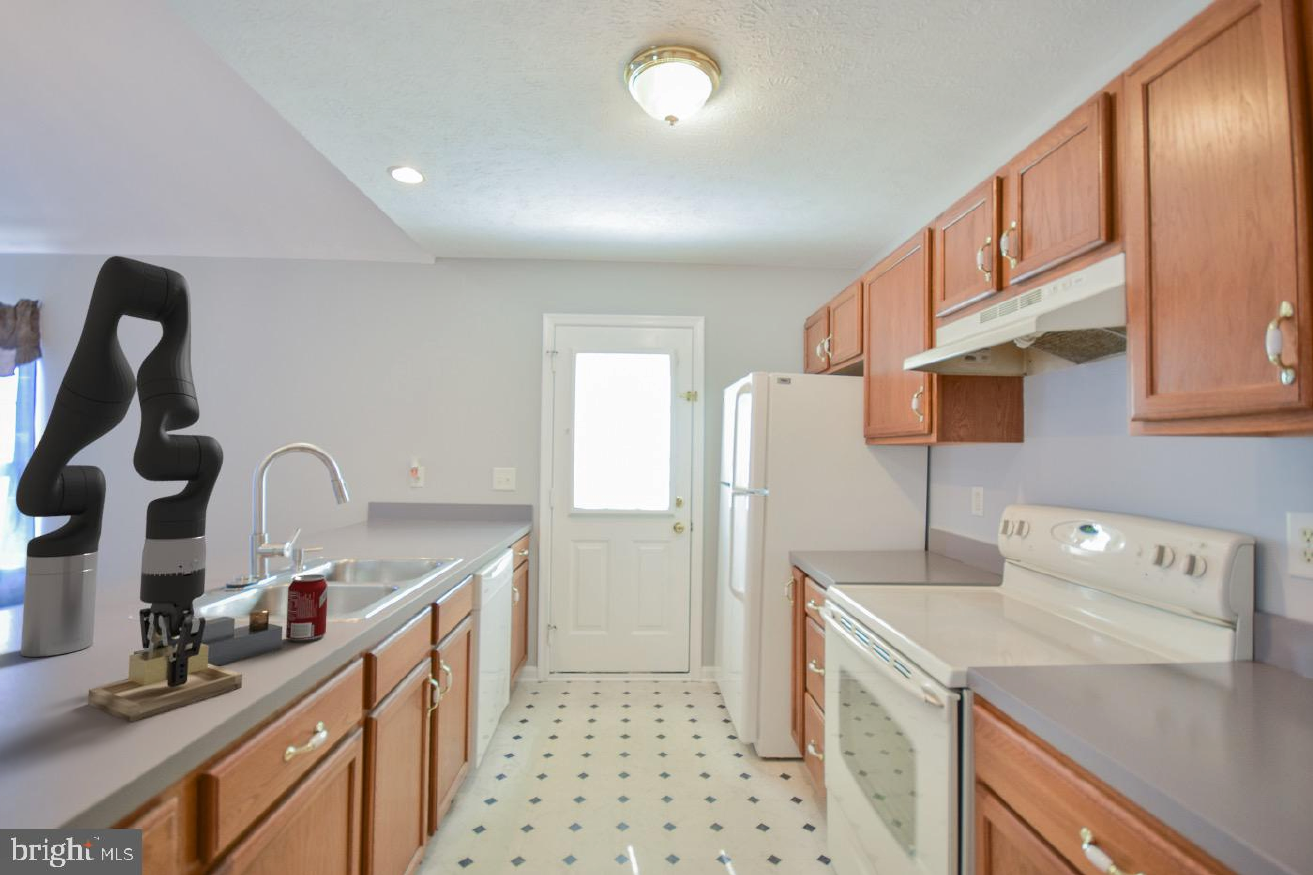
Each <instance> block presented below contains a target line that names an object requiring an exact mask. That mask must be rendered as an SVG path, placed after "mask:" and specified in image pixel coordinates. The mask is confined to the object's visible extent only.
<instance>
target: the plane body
mask: <svg viewBox="0 0 1313 875" xmlns="http://www.w3.org/2000/svg"><path fill="white" fill-rule="evenodd" d="M235 619H236V618H233V617H229V616H222V617H217V618H212V619H208V620H207V619H206V623H205V627H204V632H203V636H202V641H201V643H202V644H205V645H209V649H208V664H211V665H214V666H218V667H220V666H222V665H227V664H230V663H234V662H236V661H240V660H244V658H245V659H248V658H252V657H255V655H256V656H259V655H262V653H263V654H266V652H267V653H270V652H273V651H272V650H274V651H277V650H281V649H282V644H283V642H282V640H283V626H281V625H277V624H273V623H269V622H270V609H266V608H265V609H262V608H261V609H254V610H251V611H249V621H248V622H249V623H248V625H245V626H240V627H236V628H235ZM176 645H177V644H176ZM276 649H277V650H276ZM147 651H148V648H146V649H144V648H143V649H141V650H137V651H134V652H133V655H134V654H138V653H143V652H147ZM269 651H270V652H269ZM258 654H259V655H258ZM251 656H252V657H251ZM247 657H248V658H247Z"/></svg>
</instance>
